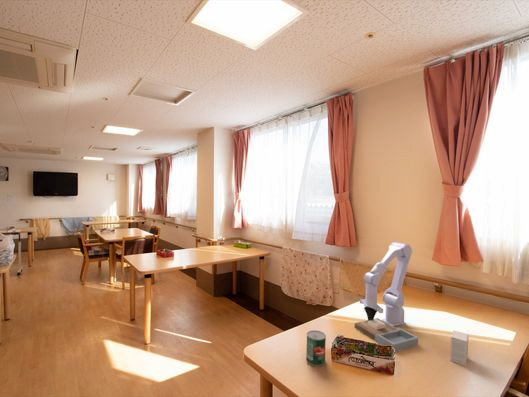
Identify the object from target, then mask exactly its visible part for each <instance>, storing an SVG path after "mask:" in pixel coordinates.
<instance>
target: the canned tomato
mask: <svg viewBox="0 0 529 397" xmlns="http://www.w3.org/2000/svg"><path fill="white" fill-rule="evenodd" d="M326 337H327V336H326V334H325V333H324V332H323V331H320V330H309V331H308V332H307V333H306V353H305V354H306V358H305V360H306V363H307V364H309V365H312V366H315V367H321V366H324V365H325V363H326Z"/></svg>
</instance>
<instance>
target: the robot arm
mask: <svg viewBox="0 0 529 397" xmlns="http://www.w3.org/2000/svg"><path fill="white" fill-rule="evenodd" d="M412 253H413V248H412V247H411V245H410V244H409V243H402V242H398V241H392V242H391V243H390V245H388V251H387V253H386V254H385V255H384V257H383V258H382V260H381V261H379V262H376V263H375V265H374V266H373V267H372V268H371V270H370V271H368V272H365V273H364V276H363V277H362V278H363V281H364V286H365V299H363V298H360V299H359V304H363V306H364V307H363V309H364V311H365V314H366V317H367V320H368V321H369V320H373V319H375V316H376V314H377V313H379V314H382V313H384V308H382V307H381V306H380V305H379V304H378V285H379V284H380V283H381V279H382V276H383V275H384V274H385V272H387V269H388V265H389V264H391V263H392V261H393V260H394V259H395V258H396V259H397V263H396V267H395V271H394V274H393V278H392V281H391V284H390V286H389V287H388V288H386V289H385V292H384V293H383V295H382V301H383V302H384V305H385V318H383V319H381V320H382V321H384V322H386V323H388V324H389V325H391V326H393V327H397V326H401V325H405V324H406V322H405V309H404V304H405V301H404V300H405V294H404V293H403V292H402V287H403V285H404V282H405V277H406V274H407V271H408V270H407V269H408V267H409V263H410V260H411V256H412Z"/></svg>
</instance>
